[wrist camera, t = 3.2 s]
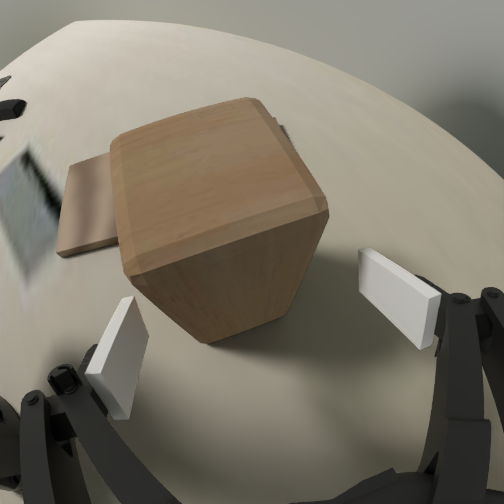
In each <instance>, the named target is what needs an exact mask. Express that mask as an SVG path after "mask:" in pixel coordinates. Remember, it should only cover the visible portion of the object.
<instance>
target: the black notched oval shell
mask: <svg viewBox="0 0 504 504" xmlns="http://www.w3.org/2000/svg"><path fill="white" fill-rule="evenodd" d="M25 103H26V102H25V101H24V100H20V99H13V100H5V101H1V102H0V121H2V120H9V119H16V118H18V116H19V115H20V113H21V111H22V109H23V108H24V106H25ZM0 139H1V138H0Z"/></svg>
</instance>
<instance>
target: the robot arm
mask: <svg viewBox="0 0 504 504" xmlns="http://www.w3.org/2000/svg"><path fill="white" fill-rule="evenodd" d="M358 261H359V292H360V293H362V294H363V295H364V296H365V297H366V298H367V299H368V300H369V301H370V302H371V303H372V304H373V305H374V306H375V307H376V308H377V309H378V310H379V311H381V312H382V313H383V314H384V315H385V316H386V317H387V318H388V319H389V320H390V321H391V322H392V323H393V324H394V325H395V326H396V327H397V328H398V329H399V330H400V331H401V332H402V333H403V334H404V335H405V336H406V337H407V338H408V339H409V340H410V341H411V342H412V343H413V344H414V345H415V346H416V347H417V348H418V349H419V350H421V349H424V348H426V347H428V346H430V345H432V342H433V338H434V334H435V335H436V336H437V337H438V338H439V341H438V345H437V349H436V353H435V357H437V363H436V376H435V386H434V394H433V402H432V409H431V415H430V421H429V427H428V433H427V438H426V442H425V447H424V452H423V456H422V460H421V463H420V465H419V468H418V470H417V472H404V473H398V474H396V473H395V471H394V469H393V468H391V469H389V470H386V471H384V472H382V473H380V474H377V475H375V476H373V477H370V478H368V479H365V480H363V481H361V482H360V483H358V484H357V485H355V486H354V487H352V488H351V489H349V490H347V491H346V492H344V493H342V494H341V495H339V496H337V497H336V498H334V499H331V500H326V501H314V502H298V503H290V504H504V492H503V491H497V490H491V489H486V486H487V479H488V470H489V460H490V445H491V422H490V420H489V419H484V392H483V375H482V366H483V369H484V372H485V374H486V377H487V380H488V382H489V385H490V388H491V391H492V394H493V397H494V400H495V403H496V407H497V410H498V413H499V417H500V420H501V424H502V428H503V432H504V293H503V292H502V291H501V290H499V289H497V288H494V287H487V288H484V289H483V290H482V292H481V297H480V298H478V299H472V300H471V298H470V297H469V296H468V295H466V294H463V293H452V294H448V293H447V292H445V291H444V290H442V289H441V288H439V287H438V286H436V285H435V284H433V283H432V282H430V281H429V280H427V279H426V278H424V277H421V276H418V275H413V274H411V273H409V272H408V271H406V270H405V269H403V268H402V267H400V266H399V265H397V264H395V263H394V262H392V261H391V260H389V259H387V258H386V257H384V256H383V255H381V254H379V253H378V252H376V251H374V250H373V249H371V248H369V247H368V248H364V249H359V250H358ZM148 338H149V334H148V332H147V329H146V327H145V324H144V322H143V319H142V316H141V314H140V311H139V308H138V305H137V302H136V300H135V297H134V296H131V297H125V298H122V300H121V301H120V303H119V305H118V307H117V309H116V311H115V313H114V315H113V316H112V318H111V320H110V322H109V324H108V326H107V328H106V330H105V332H104V334H103V336H102V338H101V340H100V342H99V344H94V345H93V346H92V347H91V348H90V349H89V350H88V351H87V353H86V355H85V357H84V359H83V361H82V364H81V365H80V367H79V369H78V371H77V373H76V371H75V370H74V368H73V367H72V366H71V365H69V364H64V365H60V366H58V367H56V368H54V369H53V370H52V371H51V372H50V373H49V375H48V382H49V384H50V385H51V387H52V388H53V390H54V391H55V393H56V394H57V395H54V396H51V397H47V398H46V397H45V395H44V394H43V393H42V392H41V391H40V390H34V391H31V392H29V393H27V394H26V395H25V396H24V398H23V399H22V402H21V412H20V419H19V418H18V416H17V414H16V413H15V411H14V410H13V408H12V407H11V406H10V405H9V404H8V403H7V402H6V401H5V400H4V399H3V398H2V397H0V489H1V490H6V491H17V490H21V489H22V490H23V499H24V504H91V501H90V498H89V495H88V492H87V489H86V485H85V482H84V478H83V474H82V471H81V467H80V462H79V458H78V454H77V449H76V444H75V439H74V437H78V438H79V440H80V442H81V443H82V445H83V447H84V449H85V450H86V452H87V454H88V455H89V457H90V459H91V460H92V462H93V464H94V465H95V467H96V468H97V470H98V471H99V473H100V474H101V476H102V477H103V479H104V480H105V482H106V483H107V485H108V486H109V488H110V489H111V490H112V492H113V493H114V494H115V496H116V497H117V498H118V500H119V501H120V502H121V504H182V503H181V502H179V501H178V500H177V499H176V498H175V497H174V496H173V495H172V494H171V493H170V492H169V491H168V490H167V489H166V488H165V487H164V486H163V485H162V484H161V483H160V482H159V481H158V480H157V479H156V478H155V477H154V476H153V475H152V474H151V473H150V472H149V470H148V469H147V468H146V467H145V466H144V465H143V464H142V463H141V462H140V460H139V459H138V458H137V457H136V456H135V455H134V453H133V452H132V451H131V450H130V449H129V447H128V446H127V445H126V444H125V443H124V441H123V440H122V439H121V437H120V436H119V435H118V434H117V432H116V431H115V430H114V428H113V427H112V426H111V424H110V423H109V422H108V420H107V419H106V417H107V413H108V412H109V414H110V415H111V416H112V418H113V419H114V420H129V418H130V413H131V408H132V404H133V399H134V395H135V390H136V386H137V382H138V378H139V373H140V369H141V365H142V361H143V357H144V354H145V350H146V346H147V342H148Z"/></svg>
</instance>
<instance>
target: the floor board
mask: <svg viewBox="0 0 504 504" xmlns="http://www.w3.org/2000/svg"><path fill="white" fill-rule="evenodd" d="M273 119H274V120H275V122H276V123H277V125H278V126H279V124H278V122H277V120H276V118H275V117H273ZM279 127H280V126H279ZM280 129H281V128H280ZM116 243H119V242H118V235H117V228H116V220H115V212H114V203H113V193H112V182H111V169H110V152H109V153H105V154H102V155H99V156H96V157H93V158H90V159H87V160H85V161H82V162H79V163H76V164H73V165H71V166H70V167H69V172H68V176H67V181H66V186H65V191H64V196H63V202H62V208H61V215H60V222H59V229H58V237H57V247H56V253H57V254H58V255H59V256H60V257H65V256H69V255H73V254H76V253H80V252H84V251H88V250H92V249H96V248H100V247H104V246H108V245H112V244H116Z"/></svg>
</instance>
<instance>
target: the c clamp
mask: <svg viewBox="0 0 504 504" xmlns="http://www.w3.org/2000/svg"><path fill="white" fill-rule="evenodd" d="M10 78H11V76H7V77H4V78H1V79H0V82H1V83H0V87H2V86H3V85H4V84H5V83H6V82H7V81H8V80H9V79H10Z"/></svg>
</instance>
